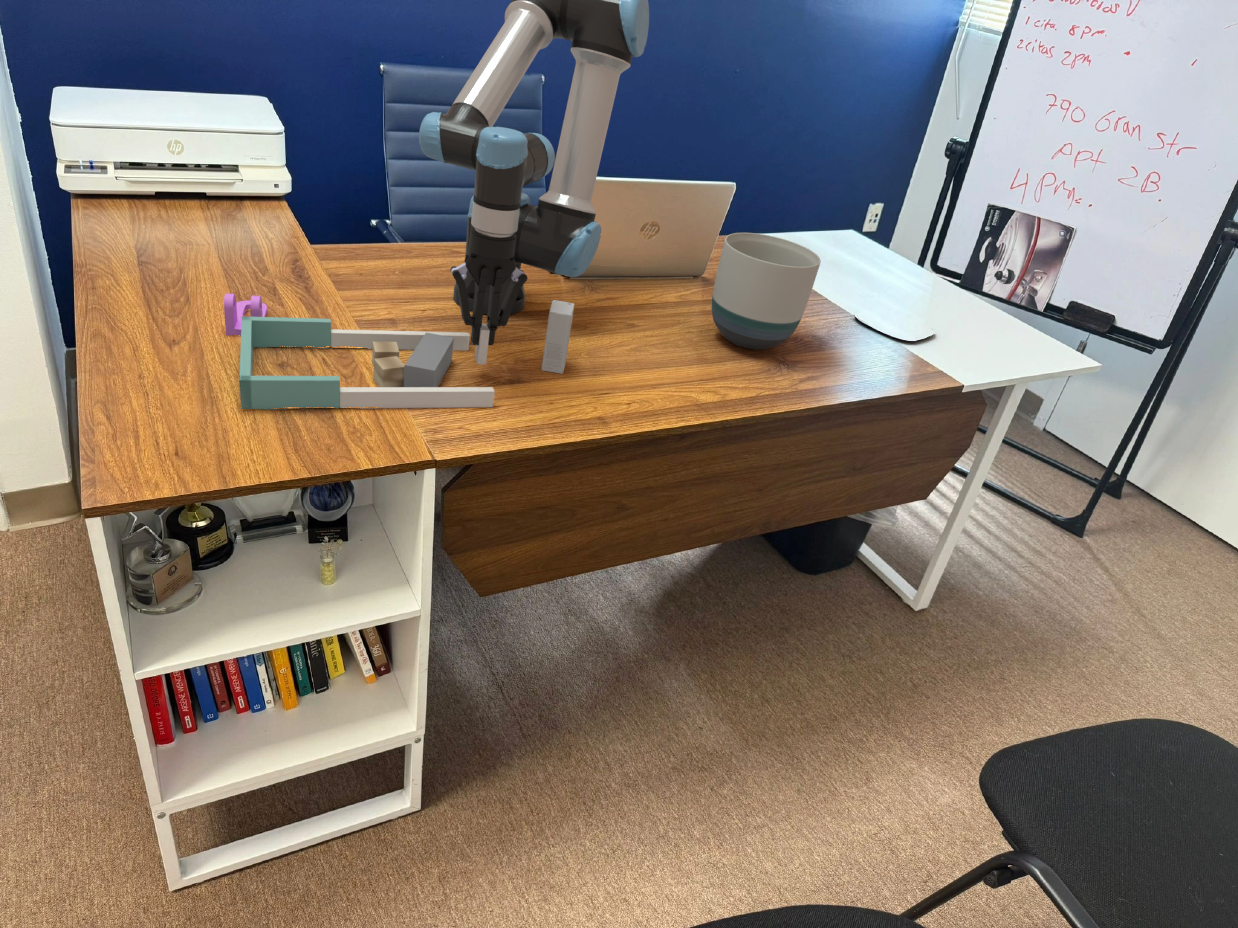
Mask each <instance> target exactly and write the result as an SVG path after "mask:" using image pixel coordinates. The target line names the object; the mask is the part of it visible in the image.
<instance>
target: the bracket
mask: <svg viewBox="0 0 1238 928" xmlns="http://www.w3.org/2000/svg"><path fill="white" fill-rule="evenodd" d="M250 297H251V298H250V299H249V300H241V301H237V297H236V294H235V293H225V294H224V297H223V310H224V311H223V312H224V313H223V314H224V323H225V325H224V326H225V336H231V335H240V336H239V337H241V327H242V316H244V314H245V317H247V316H246V313H245V311H246V310H248V309H251V311H250V317H266V314H267V315H268V305H267V304H265V303H264V302H263V301H262V300H263V299H262V295H251V296H250Z"/></svg>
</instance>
